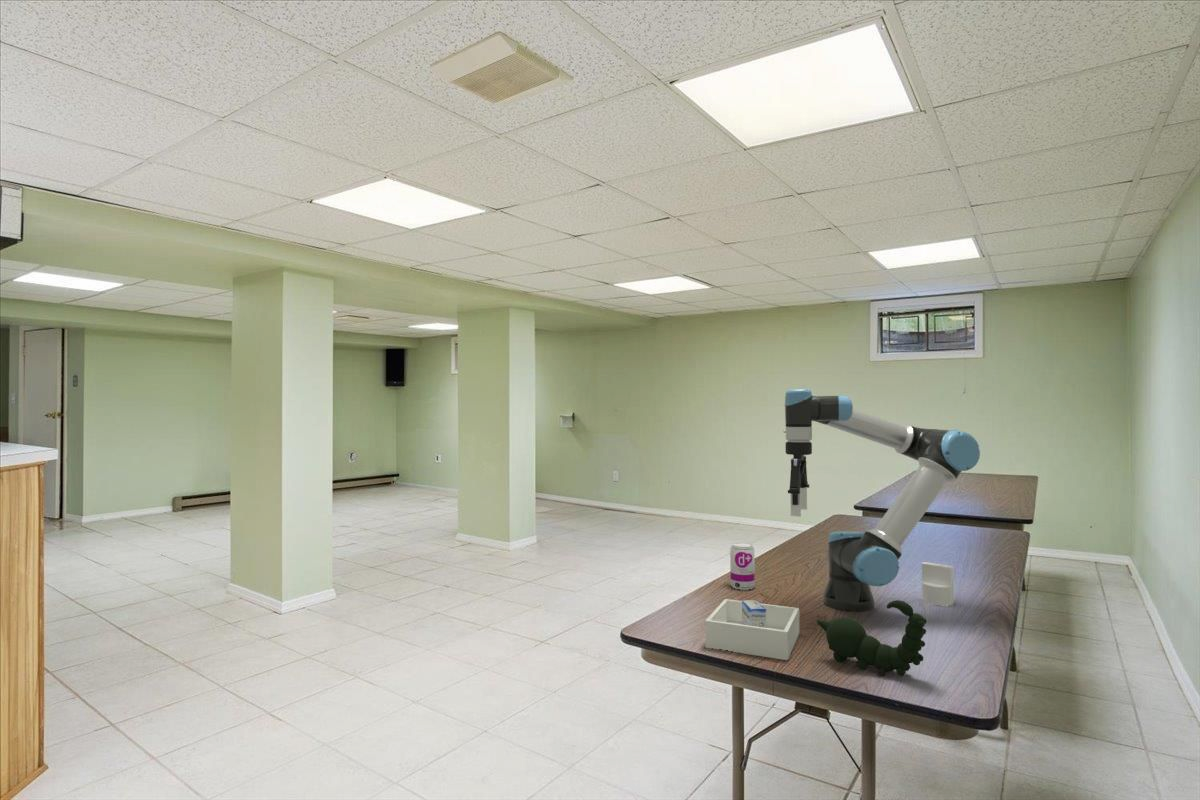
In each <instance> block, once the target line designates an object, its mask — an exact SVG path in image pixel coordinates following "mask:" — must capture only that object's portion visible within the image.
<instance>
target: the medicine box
mask: <svg viewBox="0 0 1200 800" xmlns="http://www.w3.org/2000/svg"><path fill="white" fill-rule="evenodd" d="M741 601H742V625H749V626H756V627H763V628H766V609H765V608H764V607H763V606H762V605H761V604H762V603H761V602H758V600H755V599H754V600H753V599H752V600H751V599H750V600H749V599H748V600H747V599H745V600H741ZM760 603H761V604H760Z"/></svg>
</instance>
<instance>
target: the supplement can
mask: <svg viewBox="0 0 1200 800" xmlns="http://www.w3.org/2000/svg"><path fill="white" fill-rule="evenodd" d="M729 550H730V559H729V561H730V562H729V563H730V566H729V567H730V568H729V569H730V571H729V572H730V573H729V574H730V586H731V587H732V589H734V588H735V589H734V590H737V589H740V590H739V591H750V590H749V589H751V590H753V589H754V588H755V586H756V585H755V583H756V581H755V580H756V578H755V577H756V574H755V572H756V571H755V567H756V566H755V559H756V558H755V548H754V545H753V544H752V543H750V542H734V543H732V544H731V547H730V549H729Z"/></svg>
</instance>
